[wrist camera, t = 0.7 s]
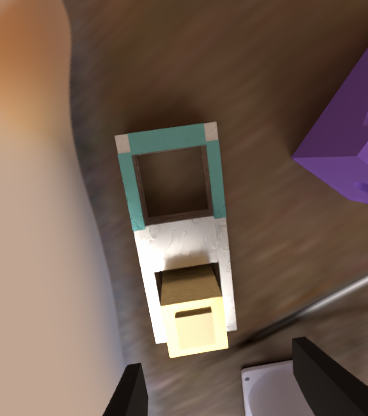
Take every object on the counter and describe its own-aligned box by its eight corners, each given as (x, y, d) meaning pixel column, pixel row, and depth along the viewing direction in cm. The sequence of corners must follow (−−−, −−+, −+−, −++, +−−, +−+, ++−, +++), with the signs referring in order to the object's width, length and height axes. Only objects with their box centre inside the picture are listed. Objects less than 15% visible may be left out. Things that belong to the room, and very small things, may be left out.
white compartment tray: (229, 310, 21) (237, 331, 18) (158, 321, 20) (156, 345, 18) (209, 127, 17) (216, 121, 14) (122, 139, 17) (113, 135, 14)
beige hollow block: (211, 294, 20) (229, 351, 14) (170, 300, 20) (170, 361, 14) (206, 255, 19) (223, 299, 13) (163, 262, 19) (160, 309, 13)
